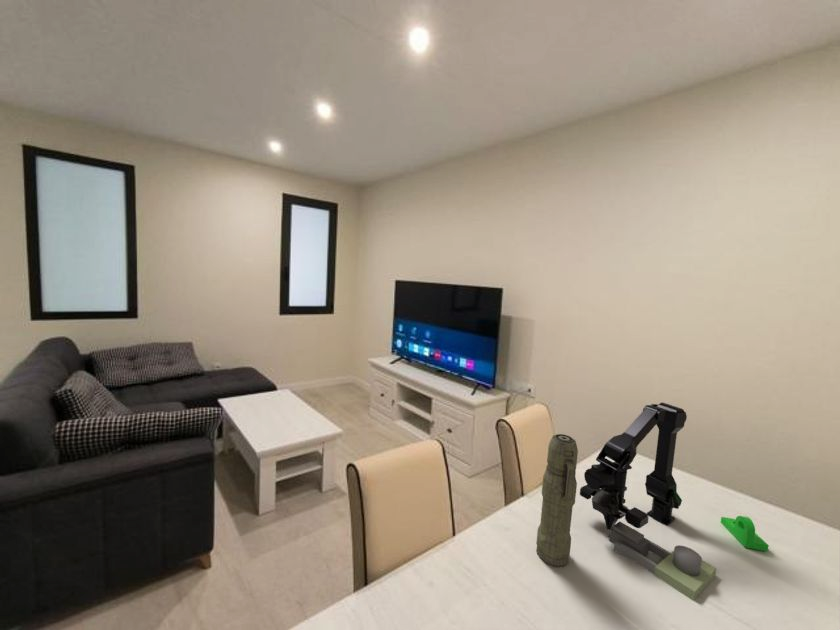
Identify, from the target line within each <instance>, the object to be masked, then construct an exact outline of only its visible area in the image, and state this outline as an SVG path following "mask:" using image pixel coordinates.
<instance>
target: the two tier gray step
mask: <svg viewBox="0 0 840 630" xmlns="http://www.w3.org/2000/svg"><path fill="white" fill-rule="evenodd" d="M645 538H646V537H645V534H643V533H641V532H640V531H637V530H636V529H635V530H634V528H632V527H631V526H629V525H628V524H626V523H624V522H622V521H619V520H618V521H617V522H616V523H615V525H614V526H613V528H611V529H610V531H609V538H608V541H609V542H610V543H611V544H612V545H614V541H616V542H619V543H622V544H624V545H626V546H628V547H630V548H632V549H633V550H635V551H636V552H638V553H640V554H641V555H643V556H644V557H646V558H647V556H648V555H649V553H650V551H649V546H650V541H651V540H650V541H648V540H649V539H648V540H646V539H647V538H646V539H645Z"/></svg>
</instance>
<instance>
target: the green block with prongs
mask: <svg viewBox="0 0 840 630" xmlns="http://www.w3.org/2000/svg"><path fill="white" fill-rule="evenodd" d="M633 529H634V528H633ZM634 530H636V529H634ZM644 538H645V539H646V540H648V541H650V546H649V553H652V554H654V555H656V556H657V557H659V558H660V559H662V560H661V561H660V562H659V563H658V564H657V563H655V562H654V561H652V560H651V559H649V558H647V556H646V557H644V556H643V555H641V554H640V553H638V552H636V551H635V550H633V549H632V548H630V547H628V546H626V545H624V544H622V543H619V542H616V541H614V544H613V550H612V551H613V552H616V553H618V554H620V555H621V554H622V555H624V556H625V557H626V558H628V559H630V560H631V561H633V562H635V563H636V564H638V565H639V566H641V567H642V568H644V570H647V571H649V572H650V573H652V574H653V576H655V577H657V578H659V580H661V581H663V582H665V583H666V584H668V585H669V586H671V587H672V588H673V589H675V590H676V591H678V592H679V593H681V594H683V595H684V596H685V597H687V598H688V599H690V600H692V601H695V600H696V598H697V597H698V596H699V595H700V594H701V592H703V591H704V589H705V588H706V587H707V586H708V585H709V584H710V583H711V582H712V580H713V579H714V578H715V577H716V575H717V566H714V565H712V564H711V563H709V562H707V561H705V560H703V557H702V556H701V555H700V554H699V552H697V551H695V550H694V549H692V548H690V547H688V546H684V545H675V546H674V549H673V551H668V550H666V549H665V548H664V547H661V546H660V545H658V544H656V543H655V542H653V541H651V540H649V539H648V538H646V537H644Z"/></svg>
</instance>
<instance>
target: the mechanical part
mask: <svg viewBox="0 0 840 630" xmlns="http://www.w3.org/2000/svg"><path fill="white" fill-rule="evenodd" d="M720 523H721V524H722V526H724V527H725V528H726V530H728V531H729V532H730V533H731V534H732V536H733V537H734V538H735V539H736V540H737V541H738V542H739V543H740V544H741V545H742V546H743V547H744V548H746V549H753V550H758V551H763V552H768V551H769V547H770V546H769V544H768V543H767V542H766V541H765V540H763V538H762V537H761V536H759V534H758V533H756V528H755V524H754V522H753V520H752V519H751V518H750V517H748V516H743V515H737V516H736V517H735V518H731V517H725V516H721V518H720Z"/></svg>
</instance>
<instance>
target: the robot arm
mask: <svg viewBox="0 0 840 630" xmlns="http://www.w3.org/2000/svg"><path fill="white" fill-rule="evenodd" d="M687 416H688V414H687V412H686V411H685V410H684V409H683V408H681V407H679V406H675V405H672V404H669V403H665V402H660V403H659V404H657V403H651V404H645V406H644V407H643V409H642V411H641V413H639V415H638V416H637V417H636V418H635V419H634V420H633V422H631V424H630V425H629V426H628V427H627V428H626V429H625V430H624V431H623V432H622V433H621V434H618V435H614V436H613V437H612V438H610V439H608V441H606V443H605V444H604V445H603V447H602V449H601V450H600V452H599V453H598V455H597V457H596V458H595V461H596V462H598V463H597V464H592V465H591V466H590V467H589V468H587V469H586V470H585V471H584V480H585V483H586V484H585V485H583V486H581V487H580V490H579V496H580V497H583V498H584V499H586V500H590V499H591V504H592V509H593V510H594V511H597V512H599V513H600V514H602V515H603V518H604V522H605V527H606V529H607V530H608V531H609V532H610V529H611V528H613V526H614V525H615V524H617V523H618V521H619V520H620V519H622V518H623V517H624V519H625V522H626V524H629V525H631V526H632V527H634V528H636V529H641V528H643V526H645V525H647V524H648V523H649V517H650V518H652V519H654V520H656V521H658V522H660V523H662V524H664V525H666V526H669V525H670V524H671V523H673V522H674V521H675V520H676V517H675V516H672V515H673V509H677V510H679V508H680V507H681V504H682V501H683V499H682V498H681V496H680V494H679V493H678V492H677V491H678V490H677V488H678V487H677V482H676V480H675V478H674V476H673V467H674V458H675V453H676V451H675V450H676V444H677V437H678V436H677V435H678V432H680V431H681V430H683V428H684V427H685V423H686V421H687ZM655 426H657V428H658V435H657V441H656V442H657V444H656V449H655V450H656V452H655V459H654V467H653V468H654V469H653V471H652V472H650V473H649V474H647V475H645V483H644V486H645V491H646V495H647V496H648V497H651V498H652V504H651V509H650V510H649V511H648V512H644V511H643V510H641V509H639V508H637V507H635V506H634V507H633V508H630V509H629V508H628V506H627V505H625V503H626V499H625V492H626V491H628V487H627V486H626V484H627V475H628V470H632V469H633V467H632V466H631V464H632V462H634V459H635V457H636V456H637V449H638V446H639V444H640V443H641V442H642V441H643V440H644V439H645V438H646V437H647V436H648V434H649V433H650V432H651V431H652V430H653V429H654V428H655ZM611 460H612V461H611Z"/></svg>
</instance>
